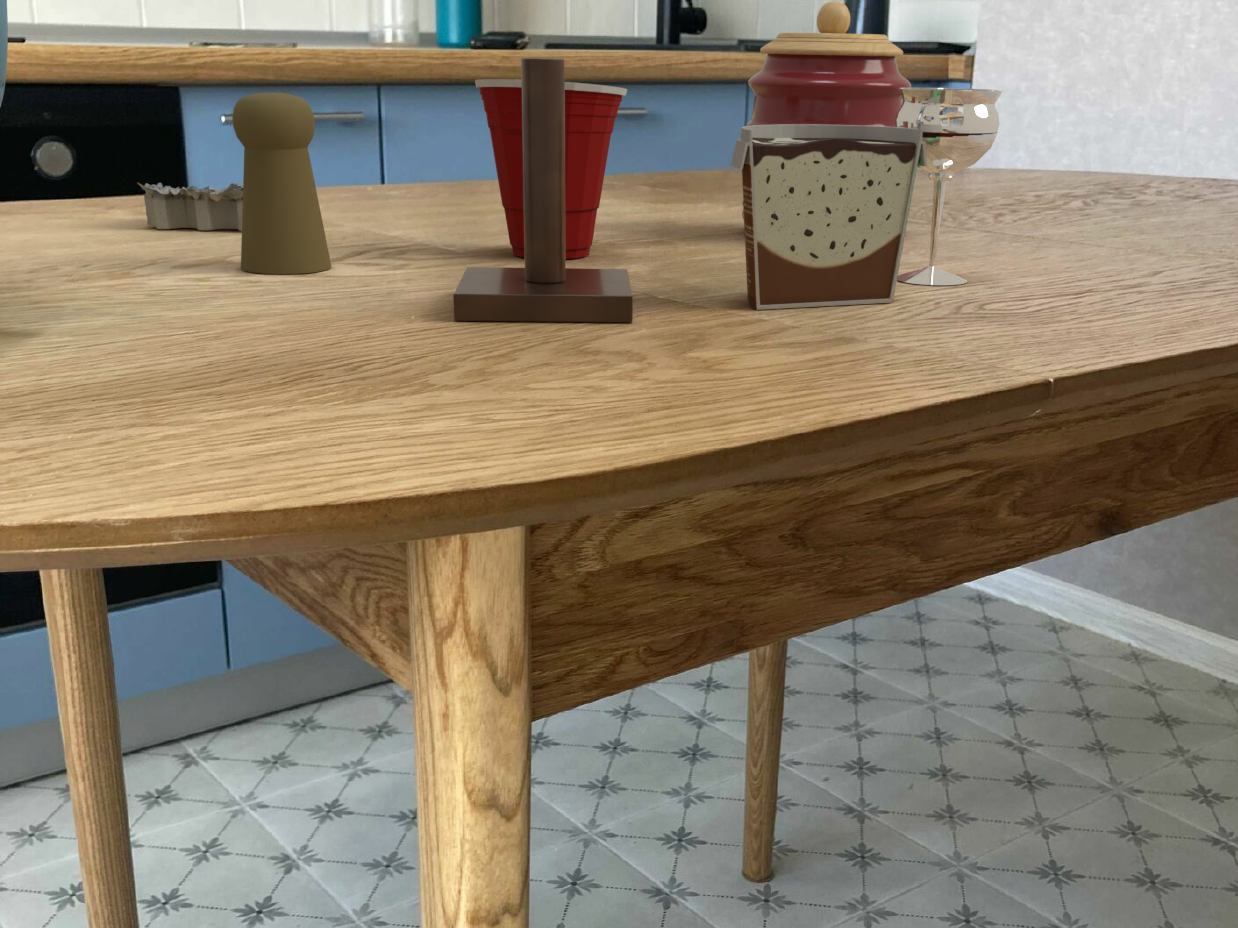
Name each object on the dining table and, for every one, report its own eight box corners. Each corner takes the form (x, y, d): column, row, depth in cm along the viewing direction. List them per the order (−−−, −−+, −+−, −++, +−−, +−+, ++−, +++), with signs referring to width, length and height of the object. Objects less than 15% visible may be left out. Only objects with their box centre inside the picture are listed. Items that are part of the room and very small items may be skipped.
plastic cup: (649, 251, 103) (652, 80, 98) (584, 269, 94) (585, 81, 89) (524, 241, 107) (521, 76, 102) (451, 257, 98) (444, 77, 93)
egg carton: (295, 223, 115) (291, 172, 113) (262, 234, 108) (258, 180, 107) (174, 219, 116) (168, 168, 114) (135, 229, 109) (128, 175, 108)
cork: (301, 276, 89) (286, 95, 84) (222, 270, 91) (203, 93, 86) (348, 264, 94) (336, 93, 90) (272, 258, 96) (257, 90, 91)
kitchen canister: (898, 248, 107) (921, 0, 99) (734, 242, 108) (745, -3, 101) (895, 229, 118) (916, 5, 111) (747, 223, 120) (758, 3, 113)
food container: (864, 285, 89) (877, 123, 85) (913, 301, 84) (930, 129, 80) (692, 294, 85) (698, 124, 81) (733, 311, 80) (742, 130, 76)
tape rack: (454, 321, 76) (443, 57, 70) (467, 291, 85) (459, 56, 79) (632, 323, 76) (636, 61, 71) (626, 293, 85) (630, 59, 80)
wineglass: (972, 290, 89) (995, 92, 84) (870, 282, 91) (887, 89, 86) (987, 276, 94) (1010, 90, 89) (891, 269, 97) (908, 87, 92)
